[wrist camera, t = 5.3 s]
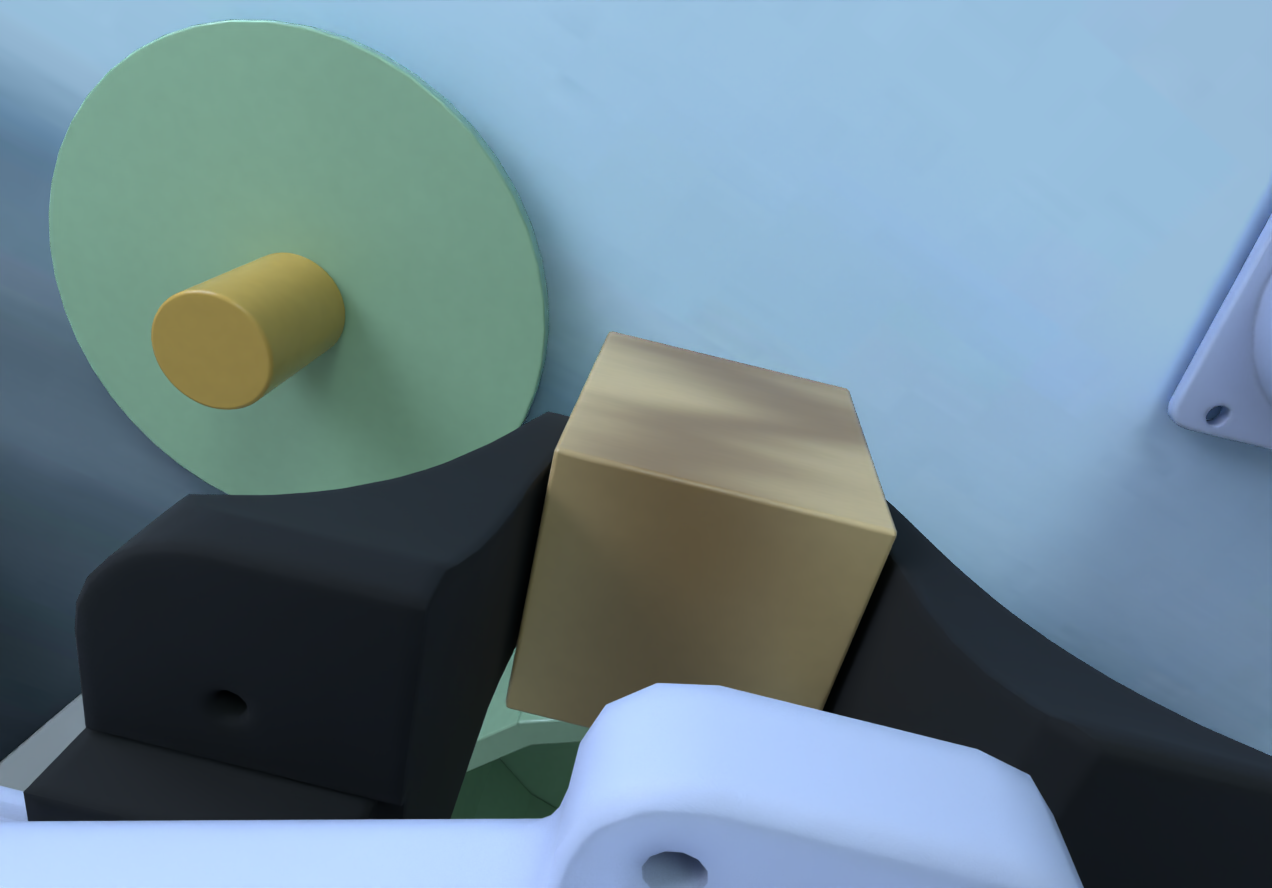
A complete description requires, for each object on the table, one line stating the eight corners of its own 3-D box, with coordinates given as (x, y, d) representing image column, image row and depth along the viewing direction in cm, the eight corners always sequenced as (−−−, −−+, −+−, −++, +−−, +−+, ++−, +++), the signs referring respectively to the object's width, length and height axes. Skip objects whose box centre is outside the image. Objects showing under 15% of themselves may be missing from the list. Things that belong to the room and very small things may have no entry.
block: (849, 388, 13) (900, 533, 9) (778, 586, 15) (794, 781, 11) (609, 329, 13) (553, 448, 9) (566, 533, 15) (503, 708, 11)
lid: (596, 92, 18) (555, 102, 14) (516, 548, 24) (469, 655, 19) (57, -37, 18) (-146, -65, 14) (99, 448, 24) (-38, 533, 20)
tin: (881, 609, 23) (930, 791, 17) (769, 871, 28) (778, 1080, 22) (489, 515, 23) (409, 665, 18) (446, 793, 28) (373, 981, 23)
